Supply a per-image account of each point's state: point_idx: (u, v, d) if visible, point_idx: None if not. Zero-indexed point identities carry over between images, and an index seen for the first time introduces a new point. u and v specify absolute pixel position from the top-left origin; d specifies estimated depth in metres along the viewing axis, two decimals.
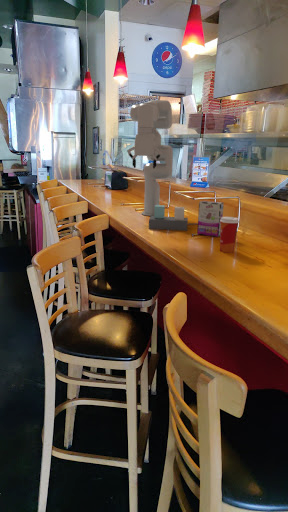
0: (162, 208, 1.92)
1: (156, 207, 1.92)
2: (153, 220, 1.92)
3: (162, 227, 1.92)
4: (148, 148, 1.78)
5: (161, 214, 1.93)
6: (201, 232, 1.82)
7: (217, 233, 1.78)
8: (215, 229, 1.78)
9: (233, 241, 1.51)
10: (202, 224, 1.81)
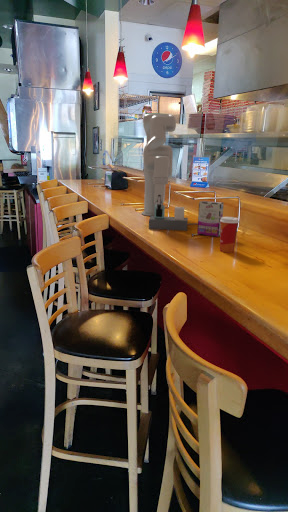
0: (162, 208, 1.92)
1: (156, 207, 1.92)
2: (153, 220, 1.92)
3: (162, 227, 1.92)
4: None
5: None
6: (201, 232, 1.82)
7: (217, 233, 1.78)
8: (215, 229, 1.78)
9: (233, 241, 1.51)
10: (202, 224, 1.81)
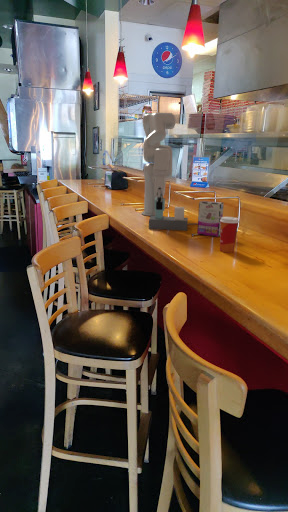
0: (162, 201, 1.91)
1: (156, 200, 1.91)
2: (153, 220, 1.92)
3: (162, 227, 1.92)
4: None
5: None
6: (201, 232, 1.82)
7: (217, 233, 1.78)
8: (215, 229, 1.78)
9: (233, 241, 1.51)
10: (202, 224, 1.81)
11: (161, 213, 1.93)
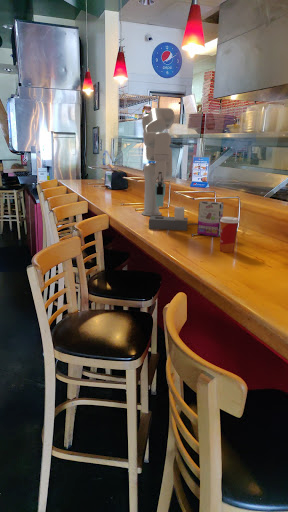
0: (163, 186, 1.89)
1: None
2: (153, 220, 1.92)
3: (162, 227, 1.92)
4: None
5: None
6: (201, 232, 1.82)
7: (217, 233, 1.78)
8: (215, 229, 1.78)
9: (233, 241, 1.51)
10: (202, 224, 1.81)
11: (162, 198, 1.91)
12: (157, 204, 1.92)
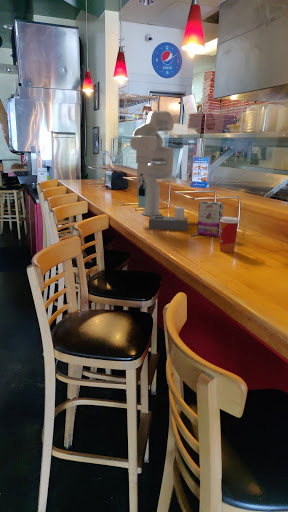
0: (145, 187, 1.95)
1: None
2: (153, 220, 1.92)
3: (162, 227, 1.92)
4: (147, 175, 1.97)
5: None
6: (201, 232, 1.82)
7: (217, 233, 1.78)
8: (215, 229, 1.78)
9: (233, 241, 1.51)
10: (202, 224, 1.81)
11: (144, 199, 1.97)
12: (139, 205, 1.98)
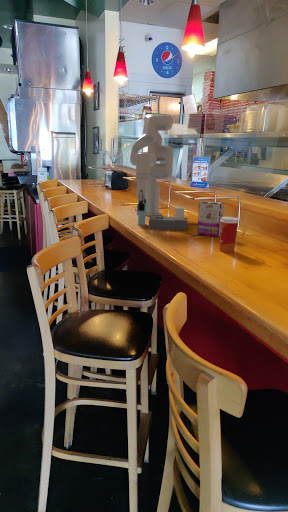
0: (144, 206, 1.98)
1: None
2: (153, 220, 1.92)
3: (162, 227, 1.92)
4: None
5: (143, 212, 1.99)
6: (201, 232, 1.82)
7: (217, 233, 1.78)
8: (215, 229, 1.78)
9: (233, 241, 1.51)
10: (202, 224, 1.81)
11: (143, 217, 2.00)
12: (139, 223, 2.01)
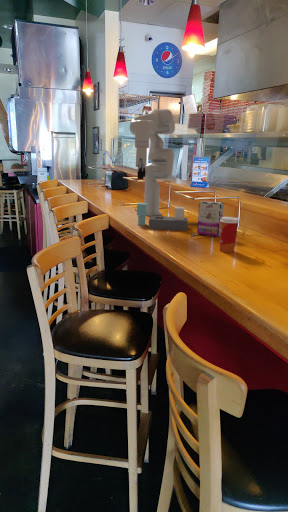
0: (144, 206, 1.98)
1: (138, 205, 1.98)
2: (153, 220, 1.92)
3: (162, 227, 1.92)
4: (146, 160, 1.98)
5: (143, 212, 1.99)
6: (201, 232, 1.82)
7: (217, 233, 1.78)
8: (215, 229, 1.78)
9: (233, 241, 1.51)
10: (202, 224, 1.81)
11: (143, 217, 2.00)
12: (139, 223, 2.01)
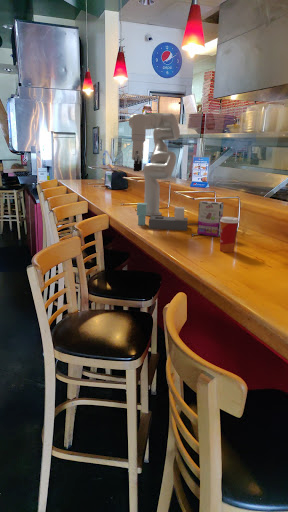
0: (144, 206, 1.98)
1: (138, 205, 1.98)
2: (153, 220, 1.92)
3: (162, 227, 1.92)
4: (142, 153, 2.03)
5: (143, 212, 1.99)
6: (201, 232, 1.82)
7: (217, 233, 1.78)
8: (215, 229, 1.78)
9: (233, 241, 1.51)
10: (202, 224, 1.81)
11: (143, 217, 2.00)
12: (139, 223, 2.01)
